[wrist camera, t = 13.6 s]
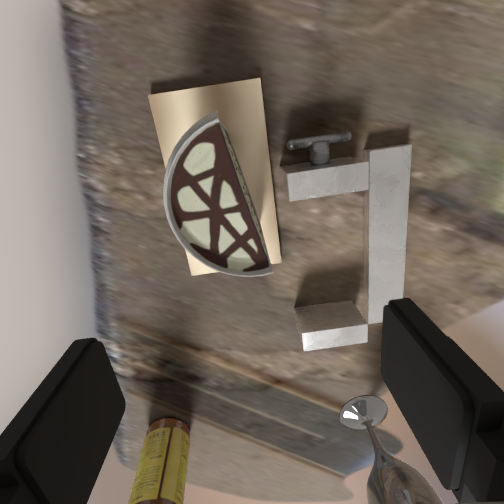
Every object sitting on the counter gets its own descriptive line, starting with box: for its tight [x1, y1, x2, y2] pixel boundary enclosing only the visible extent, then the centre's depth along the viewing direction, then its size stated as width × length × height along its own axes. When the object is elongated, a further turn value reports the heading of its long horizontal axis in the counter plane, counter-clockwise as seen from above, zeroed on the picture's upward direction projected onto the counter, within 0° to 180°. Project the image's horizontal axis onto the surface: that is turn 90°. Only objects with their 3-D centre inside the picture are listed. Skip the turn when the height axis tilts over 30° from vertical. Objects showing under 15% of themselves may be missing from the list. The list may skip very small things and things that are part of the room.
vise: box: [280, 131, 412, 351], centre depth 32 cm, size 12×22×5 cm, turn 8°
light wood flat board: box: [148, 78, 281, 276], centre depth 31 cm, size 10×18×1 cm, turn 8°
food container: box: [163, 111, 273, 277], centre depth 26 cm, size 12×6×10 cm, turn 19°
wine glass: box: [339, 395, 443, 504], centre depth 38 cm, size 8×8×15 cm
